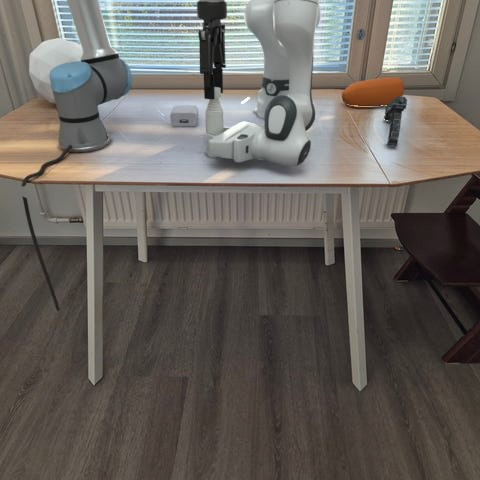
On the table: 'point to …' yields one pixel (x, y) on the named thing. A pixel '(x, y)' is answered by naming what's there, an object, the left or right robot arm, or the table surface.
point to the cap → (217, 92)
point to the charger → (184, 116)
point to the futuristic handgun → (395, 118)
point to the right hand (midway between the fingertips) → (212, 133)
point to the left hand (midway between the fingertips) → (213, 95)
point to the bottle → (214, 120)
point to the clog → (373, 92)
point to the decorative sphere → (51, 62)
